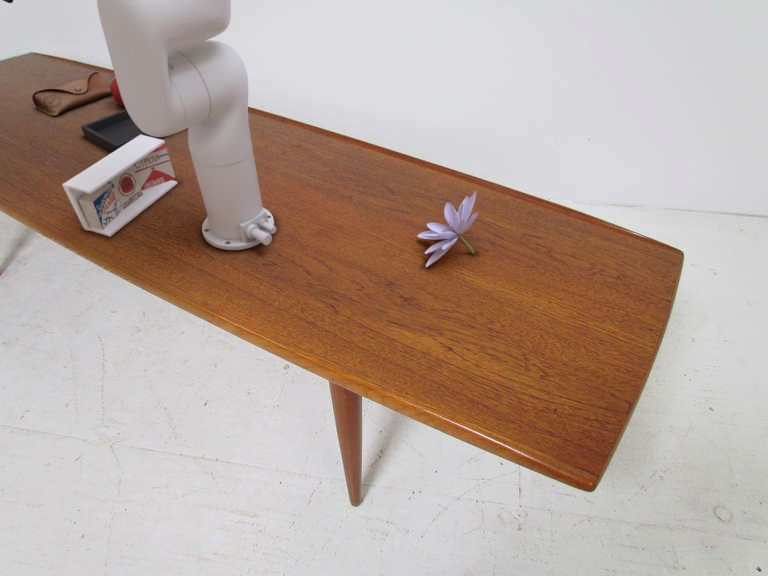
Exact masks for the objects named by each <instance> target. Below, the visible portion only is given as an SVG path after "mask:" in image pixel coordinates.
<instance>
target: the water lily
mask: <svg viewBox="0 0 768 576" xmlns="http://www.w3.org/2000/svg"><path fill="white" fill-rule="evenodd" d="M476 198H477V190H475V191H474V192H473V193H472V195H471V196H470V197H469V195H467V196H465V198H464V199H463V200H462V202H461V203H460V205H459V208H458V210H456V208H455V207H454V205H453V204H452V203H451V202H449V201H448V202H446V203H445V206H444V209H443V210H444V211H443V213H444V214H443V215H444V218H445V220H446V223H447V224H441V223H439V222H433V221H432V222H428V223H426V226H427V228H428V229H429V230H425V231H422V232H420V233H419V234H417V236H416V237H418V238H420V239H423V240H428V241H429V240H430V241H433V240H434V241H437V240H438V241H439V240H442V241H439V242H437V243H434V244H432V245H431V246H430V247H428V249H426V250H425V252H424V255H427V254H430V253H432V255H431V256H430V257H429V259H428V260H427V262H426V264H425V268H428V267H429V266H431V265H433V264H434V263H435V262H437V261H438V260H440V259H441V258H442V257H443V256H444V255H445V254H446V253H447V252H448V251H449V250H450V249H451V247H453V245H455V243H456V242H457V241H458V239H459V240H460V241H461V243H463V245H464V247H466V248H467V250H468V251H469V252H470V253H471V255H473V254H474V253H475V250H474V249H473V248H472V246H471V245H470V244H469V243H468V241H467V240H466V239H465V238H464V237H463V236H462V234H464V233H465V232H467V231H468V230H469V229H470V228H471V227H472V226H473V224H474V222H475V221H476V219H477V217H478V214H479V213H478V212H475V213H473V212H472V211H473V209H474V206H475V202H476ZM472 213H473V214H472ZM471 214H472V215H471ZM433 252H434V253H433Z"/></svg>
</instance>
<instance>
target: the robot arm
mask: <svg viewBox="0 0 768 576" xmlns="http://www.w3.org/2000/svg"><path fill="white" fill-rule="evenodd" d="M2 1H3V2H6V3H8V4H13V3H14V0H2ZM231 1H232V0H96V5H97V12H98V15H99V16H98V17H99V21H100V25H101V28H102V32H103V36H104V39H105V43H106V47H107V51H108V55H109V57H110V62H111V65H112V68H113V73H114V74H115V75H114V78H116V80H117V84H118V87H119V91H120V94H121V97H122V100H123V103H124V105H125V106H124V107H125V108H124V109H126V110H127V112H128V114H129V116H130V117H131V119H132V121H133V122H134V123H135V124H136V126H137V127H138V128H139V129H140V130H142V131H143V132H144V133H146V134H148V135H150V136H154V137H165V136H167V137H169V136H172V135H175V134H177V133H180V132H182V131H184V130H186V129H187V143H188V144H187V145H188V150H189V153H190V157H191V161H192V165H193V168H194V172H195V176H196V179H197V183H198V187H199V190H200V194H201V197H202V201H203V205H204V209H205V212H206V218H205V219H204V220H203V222H202V224H201V232H202V235H203V238H204V240H205V241H206V242H207V243H208V244H209V245H210V246H212V247H214V248H217V249H221V250H224V251H225V250H227V251H240V250H241V251H242V250H246V249H250V248H253V247H256V246H258V245H260V244H262V245H264V246H268V245H270V244H271V243H272V240H273V236H272V234H275V233H276V232H277V230H278V229H277V226H275V219H274V216H273V214H272V213H271V211H270V210H268V209H267V208H265V207H264V206H263V200H262V195H261V189H260V183H259V177H258V173H257V166H256V161H255V155H254V148H253V143H252V142H253V141H252V136H251V130H250V122H249V78H248V72H247V69H246V66H245V64H244V61H243V59H242V57H241V56H240V54H238V52H237V51H236V50H235V48H233V47H231V46H230V45H228V44H227V43H225V42H222V41H219V40H213V38H216V37H218V36H219V35H221V34H223V33H224V32H225V31H226V30H228V28H229V25H230V23H231V18H232V2H231ZM211 39H212V40H211ZM165 138H166V137H165Z"/></svg>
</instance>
